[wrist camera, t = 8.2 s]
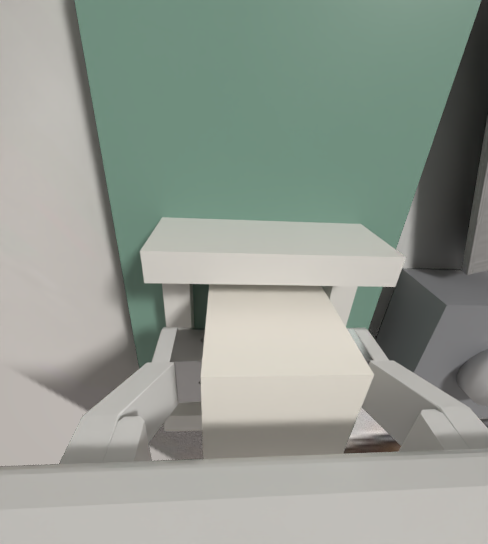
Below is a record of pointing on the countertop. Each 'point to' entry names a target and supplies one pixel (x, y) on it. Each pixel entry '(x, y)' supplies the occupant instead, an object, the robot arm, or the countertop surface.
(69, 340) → the countertop surface
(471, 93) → the countertop surface
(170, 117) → the board
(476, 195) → the electrical outlet
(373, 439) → the countertop surface
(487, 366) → the grey push button
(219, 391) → the plug
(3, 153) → the countertop surface
